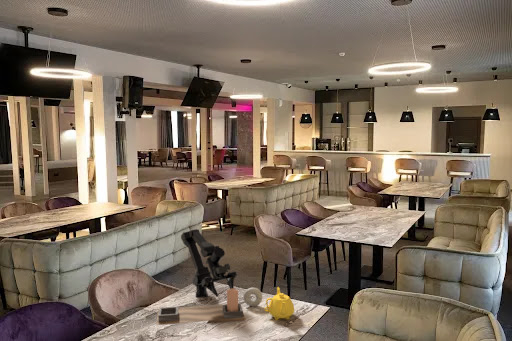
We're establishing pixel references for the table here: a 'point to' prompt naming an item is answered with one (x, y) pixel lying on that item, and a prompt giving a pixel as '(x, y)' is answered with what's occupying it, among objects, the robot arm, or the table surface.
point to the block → (232, 300)
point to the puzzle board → (199, 314)
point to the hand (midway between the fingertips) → (225, 294)
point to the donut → (250, 301)
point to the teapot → (280, 306)
